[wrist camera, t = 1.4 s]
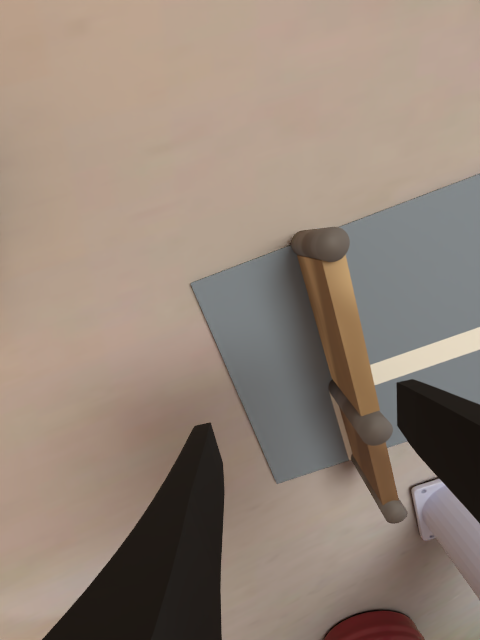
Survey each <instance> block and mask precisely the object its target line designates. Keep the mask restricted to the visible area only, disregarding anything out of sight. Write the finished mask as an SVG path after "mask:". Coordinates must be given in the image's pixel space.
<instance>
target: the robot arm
mask: <svg viewBox="0 0 480 640" xmlns="http://www.w3.org/2000/svg"><path fill="white" fill-rule="evenodd" d="M397 426H398V428H399V429H400V431H401V432H402V434H403V435H404V437H405V438H406V439H407V441H408V442H409V444H410V445H411V446H412V448H413V449H414V450H415V452H416V453H417V454H418V455H419V456H420V457H421V459H422V460H423V461H424V462H425V463H426V464H427V465H428V466H429V468H430V469H431V470H432V471H433V472H434V473H435V474H436V475H437V477H438V478H439V479H436V480H433V481H430V482H427V483H424V484H420V485H417V486H415V487H413V488H412V490H411V492H412V497H413V502H414V507H415V512H416V517H417V522H418V527H419V532H420V536H421V538H422V539H423V540H424V541H428V540H431V539H435V538H436V539H437V540H438V542H439V543H440V545H441V546H442V547H443V549H444V550H445V552H446V553H447V554H448V556H449V557H450V559H451V560H452V562H453V563H454V564H455V566H456V567H457V569H458V570H459V571H460V573H461V574H462V576H463V577H464V579H465V580H466V581H467V583H468V584H469V586H470V587H471V588H472V590H473V591H474V593H475V594H476V595H477V597H478V598H479V600H480V404H477V403H475V402H472V401H469V400H467V399H464V398H462V397H459V396H457V395H454V394H451V393H449V392H446V391H444V390H441V389H439V388H436V387H433V386H431V385H428V384H425V383H423V382H420V381H417V380H414V379H410V380H406V381H401V382H397ZM223 513H224V475H223V462H222V459H221V456H220V452H219V449H218V446H217V442H216V439H215V436H214V432H213V429H212V426H211V423H206V424H202V425H197V426H195V427H194V428H193V430H192V432H191V434H190V436H189V437H188V439H187V441H186V443H185V445H184V447H183V449H182V451H181V453H180V455H179V456H178V458H177V460H176V462H175V464H174V465H173V467H172V469H171V471H170V472H169V474H168V476H167V478H166V479H165V481H164V483H163V484H162V486H161V488H160V489H159V491H158V492H157V494H156V496H155V497H154V499H153V500H152V502H151V504H150V505H149V507H148V508H147V510H146V511H145V513H144V514H143V516H142V517H141V519H140V520H139V521H138V523H137V524H136V526H135V527H134V529H133V530H132V531H131V533H130V534H129V536H128V537H127V538H126V540H125V541H124V542H123V544H122V545H121V546H120V548H119V549H118V550H117V552H116V553H115V554H114V555H113V557H112V558H111V559H110V561H109V562H108V563H107V564H106V566H105V567H104V568H103V569H102V571H101V572H100V573H99V574H98V576H97V577H96V578H95V579H94V581H93V582H92V583H91V584H90V586H89V587H88V588H87V589H86V590H85V592H84V593H83V594H82V595H81V596H80V597H79V599H78V600H77V601H76V602H75V603H74V604H73V605H72V607H71V608H70V609H69V610H68V611H67V612H66V613H65V615H64V616H63V617H62V618H61V619H60V620H59V621H58V623H57V624H56V625H55V626H54V627H53V628H52V629H51V630H50V631H49V633H48V634H47V635H46V636H45V637H44V638H43V639H42V640H222V637H221V595H220V581H221V553H222V533H223Z"/></svg>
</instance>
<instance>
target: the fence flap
mask: <svg viewBox="0 0 480 640" xmlns="http://www.w3.org/2000/svg"><path fill="white" fill-rule="evenodd" d="M349 245H350V240H349V236H348V234H347V233H346V231H344V230H343V229H341V228H339V227H330V228H321V229H312V230H303V231H299V232H297V233H296V234H295V235H294V236H293V238H292V241H291V247H292V250H293V251H294V253H295V254H297V257H298V261H299V264H300V268H301V271H302V275H303V278H304V282H305V285H306V289H307V293H308V296H309V300H310V303H311V307H312V310H313V314H314V317H315V321H316V324H317V328H318V331H319V335H320V339H321V342H322V346H323V349H324V353H325V356H326V360H327V363H328V367H329V370H330V374H331V377H332V379H333V381H334V382H335V383H336V384H337V386H338V387H339V388H340V390H341V391H342V392H343V394H344V395H345V396H346V397H347V399H348V400H349V401H350V403H351V404H352V405H353V406H354V408H355V409H356V410H357V412H358V413H359V414H360V416H364V415H367V414H370V413H373V412H376V411H379V410H380V408H379V403H378V399H377V394H376V390H375V385H374V381H373V376H372V372H371V367H370V363H369V358H368V354H367V349H366V344H365V340H364V335H363V331H362V326H361V322H360V317H359V313H358V308H357V304H356V299H355V295H354V290H353V286H352V281H351V277H350V272H349V268H348V263H347V259H346V253H347V251H348V249H349Z"/></svg>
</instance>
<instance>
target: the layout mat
mask: <svg viewBox="0 0 480 640" xmlns="http://www.w3.org/2000/svg"><path fill="white" fill-rule="evenodd" d="M339 228H341V229H343V230H344V231H346V233H347V234H348V236H349V240H350V245H349V249H348V251H347V253H346V259H347V263H348V268H349V272H350V277H351V281H352V286H353V290H354V295H355V299H356V304H357V308H358V313H359V317H360V322H361V326H362V331H363V335H364V340H365V344H366V349H367V354H368V358H369V363H370V367H371V372H372V376H373V381H374V385H375V390H376V394H377V399H378V403H379V408H380V410H379V411H380V412H381V413H382V414H383V415H384V417H385V418H386V419H387V420H388V421H389V422H390V423H391V425H392V427H393V433H392V435H391V437H390V438H389V439H388V440H387V441H386V446H387V448H388V447H392V446H395V445H398V444H401V443H404V442H407V439H406V438H405V437H404V435H403V434H402V432H401V431H400V429H399V428H398V426H397V382H401V381H406V380H410V379H414V380H417V381H420V382H423V383H425V384H428V385H431V386H433V387H436V388H439V389H441V390H444V391H446V392H449V393H451V394H454V395H457V396H459V397H462V398H464V399H467V400H469V401H472V402H475V403H477V404H480V174H477V175H475V176H472V177H469V178H467V179H464V180H462V181H459V182H456V183H454V184H451V185H448V186H446V187H443V188H440V189H438V190H435V191H432V192H430V193H427V194H425V195H422V196H419V197H417V198H414V199H411V200H409V201H406V202H403V203H401V204H398V205H396V206H393V207H390V208H388V209H385V210H382V211H380V212H377V213H374V214H372V215H369V216H366V217H364V218H361V219H359V220H356V221H353V222H351V223H348V224H345V225H343V226H340V227H339ZM191 286H192V288H193V291H194V293H195V295H196V298H197V300H198V302H199V305H200V307H201V309H202V312H203V314H204V316H205V318H206V321H207V323H208V325H209V328H210V330H211V332H212V335H213V337H214V339H215V342H216V344H217V346H218V349H219V351H220V353H221V356H222V358H223V360H224V362H225V365H226V367H227V369H228V372H229V374H230V376H231V379H232V381H233V383H234V386H235V388H236V390H237V393H238V395H239V397H240V400H241V402H242V404H243V406H244V409H245V411H246V413H247V416H248V418H249V420H250V423H251V425H252V427H253V430H254V432H255V434H256V437H257V439H258V441H259V444H260V446H261V448H262V450H263V453H264V455H265V457H266V460H267V462H268V464H269V467H270V469H271V471H272V474H273V476H274V478H275V481H276V483H277V484H278V483H282V482H285V481H288V480H291V479H294V478H297V477H300V476H303V475H306V474H309V473H312V472H315V471H318V470H321V469H324V468H327V467H330V466H333V465H337V464H340V463H343V462H346V461H349V460H351V455H352V450H351V447H350V443H349V440H348V436H347V433H346V429H345V426H344V422H343V419H342V415H341V412H340V408H339V405H338V404H337V402H336V401H335V399H334V398H333V397H332V395H331V394H330V392H329V389H328V386H329V383H330V382H331V380H332V377H331V374H330V370H329V367H328V363H327V360H326V356H325V353H324V349H323V346H322V342H321V339H320V335H319V331H318V328H317V324H316V321H315V317H314V314H313V310H312V307H311V303H310V300H309V296H308V293H307V289H306V285H305V282H304V278H303V275H302V271H301V268H300V264H299V261H298V257H297V254H295V253H294V251H293V250H292V247H291V245H290V246H287V247H285V248H282V249H279V250H277V251H274V252H271V253H269V254H266V255H263V256H261V257H258V258H256V259H253V260H250V261H248V262H245V263H242V264H240V265H237V266H234V267H232V268H229V269H226V270H224V271H221V272H219V273H216V274H213V275H211V276H208V277H205V278H203V279H200V280H197V281H195V282H192V283H191Z"/></svg>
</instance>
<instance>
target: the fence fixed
mask: <svg viewBox="0 0 480 640" xmlns="http://www.w3.org/2000/svg"><path fill="white" fill-rule="evenodd" d="M328 389H329V392H330V394H331V395H332V397H333V398H334V399H335V401H336V402H337V404H338V405H339V408H340V412H341V415H342V419H343V422H344V426H345V429H346V433H347V436H348V440H349V443H350V447H351V450H352V455H351V460H352V462H353V463H354V465H355V467H356V469H357V470H358V472H359V474H360V476H361V477H362V479H363V481H364V482H365V484H366V486H367V488H368V489H369V491H370V493H371V495H372V496H373V498H374V500H375V502H376V503H377V505H378V507H379V509H380V510H381V512H382V514H383V515H384V517H385V519H386V521H387V522H389V523H399V522H401V521H403V520H404V519H405V518H406V517H407V510H406V509H405V507H404V506H403V504H402V503H401V501H400V500H399V498H398V495H397V490H396V486H395V481H394V477H393V472H392V468H391V463H390V459H389V455H388V450H387V446H386V441H387V440H388V439H389V438H390V437H391V435H392V433H393V427H392V425H391V423H390V422H389V421H388V420H387V419H386V418H385V417H384V415H383V414H382V413H381V412H380V411H376V412H373V413H370V414H367V415H364V416H360V414H359V413H358V412H357V410H356V409H355V408H354V406H353V405H352V404H351V403H350V401H349V400H348V399H347V397H346V396H345V395H344V394H343V392H342V391H341V390H340V388H339V387H338V386H337V384H336V383H335V382H334V381H333V379H332V380H331V382H330V383H329V386H328Z"/></svg>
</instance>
